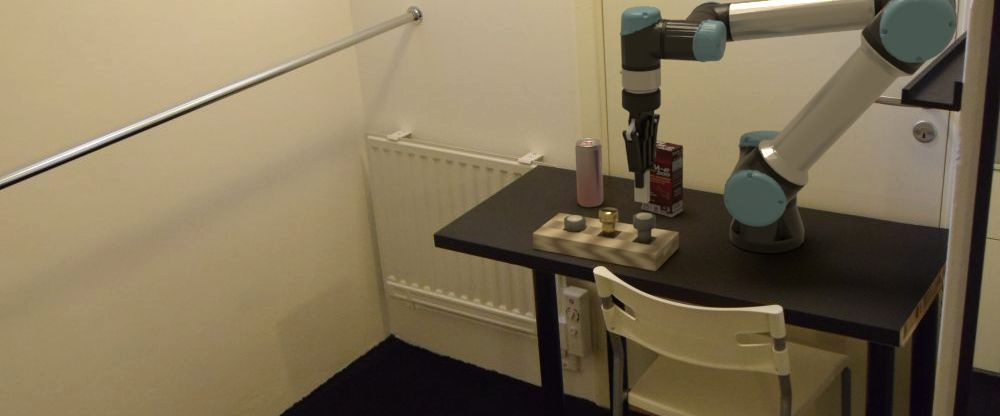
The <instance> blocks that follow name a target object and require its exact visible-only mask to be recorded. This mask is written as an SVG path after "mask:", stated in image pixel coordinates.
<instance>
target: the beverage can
mask: <svg viewBox="0 0 1000 416" xmlns="http://www.w3.org/2000/svg"><path fill="white" fill-rule="evenodd" d="M602 146H603V145H602V144H601V140H599V139H598V138H589V137H587V138H582V139H579V140H577V141H576V142H575V147H574V148H575V149H574V150H575V151H574V152H575V168H576V169H575V171H576V172H575V173H576V193H577V203H578V204H579V205H580V206H581V207H583V208H589V209H590V208H596V207H597V208H598V207H599V206H601V205H602V204H603V202H604V181H603V180H604V176H603V175H604V174H603V173H604V172H603V152H602Z"/></svg>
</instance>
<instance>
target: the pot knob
mask: <svg viewBox="0 0 1000 416" xmlns="http://www.w3.org/2000/svg"><path fill="white" fill-rule="evenodd" d="M598 219H599V221H600V222H601V223H602V232H603V236H604V237H614V236H615V235H616V222H619V219H620V218H619V210H618V208H616V207H603V208H600V209H599V210H598Z"/></svg>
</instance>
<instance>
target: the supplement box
mask: <svg viewBox="0 0 1000 416" xmlns="http://www.w3.org/2000/svg"><path fill="white" fill-rule="evenodd" d="M651 165H653V166H655V168H654V170H651V169H649V170H650V201H649V202H648V203H643V202H640V203H641V205H640V206H641V210H642V211H648V212H650V213H653V214H654V213H655V214H658V215H663V216H666V217H668V218H673V217H675V216H677V215H678V214H680V213H682V212H683V210H684V178H683V177H684V146H683V144H676V143H671V142H668V141H663V140H658V139H657V142H656V152H655V162H654V163H651Z"/></svg>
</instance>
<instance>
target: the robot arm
mask: <svg viewBox="0 0 1000 416" xmlns="http://www.w3.org/2000/svg"><path fill="white" fill-rule="evenodd" d="M956 9H957V3H956V0H743V1H734V2H725V3H721V2H717V1H714V0H711V1H710V0H709V1H705V2H703V3H701V4H699V5H696V6H695V7H694V8H693V10H692V11H691V12H690V14H688V16H687V17H686V18H685V19H666V18H663V17H662V15H661V10H660V8H658V7H656V6H649V5H642V6H641V5H640V6H639V5H638V6H633V7H628V8H626V9H625V10H624V11H622V13H621V18H620V19H621V21H620V33H619V35H620V53H621V54H620V55H621V56H620V57H621V59H620V60H621V69H620V71H619V74H620V75H621V87H622V88H623V89H622V90H621V107H622V109H624V110H625V111H627V112H628V113H629V114H628V120H627V124H628V125H627V126H628V128H627V129H624V130H623V131H622V132H621V133H622V134H621V135H622V137H623V138H622V139H623V140H624V145H625V153H626V161H627V167H628V172H629V173H633V179H634V182H633V184H634V195H633V196H634V202H637V203H641V202H643V203H648V202H649V201H650V170H649V169H651V170H654V168H655V166H653V165H651V163H654V162H655V152H656V142H657V140H658V129H659V124H660V118H661V115H660V114H658V113H655V111H656V110H659V108H660V107H661V105H662V95H661V94H662V92H661V91H662V90H661V88H660V87H661V86H662V76H661V75H662V71H661V70H662V69H661V68H662V65H661V64H662V63H661V61H662V60H669V61H671V60H672V61H685V62H686V61H687V62H688V61H689V62H691V61H692V62H700V63H706V62H719V61H721V60H722V59H723V58H724V55H725V51H726V46H727V43H732V42H738V41H739V42H740V41H751V40H752V41H753V40H761V39H762V40H765V39H774V38H785V37H795V36H807V35H817V34H819V35H820V34H828V33H830V34H831V33H838V32H839V33H840V32H852V31H861V32H860V45H859V47H857V49H856V50H855V51H854V52H852V54H851V55H850V56H849V57H848V58H847V60H846V61H845V62H844V63H843V64H842V65H841V66H840V67H839V68H838V69H837V70H836V71H835V73H833V74H832V76H831V77H829V79H828V80H827V81H826V82H825V83H824V84H823V85H822V86H821V88H820V89H819V90H818V91H817V92H816V93H814V95H813V96H812V98H810V100H809V101H808V102H807V103H806V104H805V105H804V106H803V107H802V108H801V110H799V111H798V112H797V114H796V115H795V116H794V117H793V118H792V119H791V120H790V121H789V122H788V124H786V126H785V127H784V128H783V129H782V130H781V131H780V130H755V131H754V130H753V131H748V132H745V133H743V134H742V135H741V136H740V138H739V144H738V148H739V156H738V160H737V162H736V165H735V166H734V167H733V170H732V172H731V174H730V175H729V177H728V178H727V180H726V181H725V182H726V183H725V184H724V189H723V202H724V205H725V209H726V210H727V211H728V213H729V214H730V215H731V217H733V218H732V220H731V223H730V225H729V240H730V242H731V244H733V245H734V246H735V247H737V248H740V249H742V250H745V251H748V252H752V253H758V252H759V253H760V254H778V253H785V252H791V251H792V250H795V248H796V249H797V247H798V248H799V247H801V246H802V245H803V244H804V242H805V227H804V223H803V221H802V217H801V214H800V211H799V208H798V205H797V203H798V200H797V199H798V193H799V192H800V191H802V189H803V188H804V187H805V186H806V185H807V184H808V183H809V170H810V169H812V167H813V166H814V165H815V164H816V163H817V162H818V161H819V160H820V159H821V158H822V157H823V155H825V154H826V152H828V151H829V150H830V148H831V147H832V146H833V145H834V144H835V143H836V142H837V141H838V140H839V139H840V138H841V137H842V136H843V135H844V134H845V133H846V132H847V131H848V130H849V129H850V128H851V127H852V126H853V125H854V124H855V123H856V122H857V121H858V120H859V119H860V117H862V116H863V115H864V113H865V112H866V111H867V110H869V108H870V107H871V106H872V105H873V104H874V103H875V102H876V101H877V100H878V99H879V98H880V97H881V96H882V95H883V94H884V93H885V92H886V91H887V89H889V88H890V87H891V86H892V85H893V83H894V82H895V81H896V80H897V79H898V78H900V77H912V76H913V75H915V74H916V72H917V71H918V70H920V68H921V67H923V65H925V63H926V62H927V61H929V60H931V59H933V58H935V57H937V56H938V55H940V54H941V53H942V52H944V51H945V50H946V48H947V47H949V45H950V43H951V41H952V40H953V39H954V36H955V32H956V30H957V25H958V24H957V23H958V15H957V11H956ZM802 243H803V244H802ZM801 244H802V245H801ZM800 245H801V246H800Z"/></svg>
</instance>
